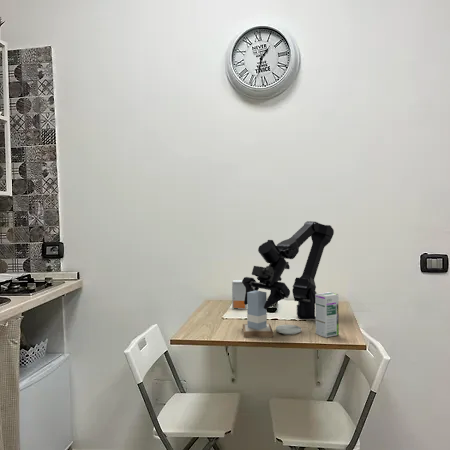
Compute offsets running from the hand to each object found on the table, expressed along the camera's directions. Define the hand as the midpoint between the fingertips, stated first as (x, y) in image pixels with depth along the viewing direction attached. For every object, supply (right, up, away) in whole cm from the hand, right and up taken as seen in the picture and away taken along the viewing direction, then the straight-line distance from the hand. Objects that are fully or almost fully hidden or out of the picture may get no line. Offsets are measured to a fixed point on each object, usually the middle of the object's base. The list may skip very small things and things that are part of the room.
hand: (254, 306), depth 169 cm
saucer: (+12, -10, +2) cm, 16 cm away
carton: (+1, -8, +2) cm, 8 cm away
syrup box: (+25, -10, -1) cm, 27 cm away
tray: (+1, -10, +2) cm, 10 cm away
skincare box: (-4, -8, +39) cm, 39 cm away
